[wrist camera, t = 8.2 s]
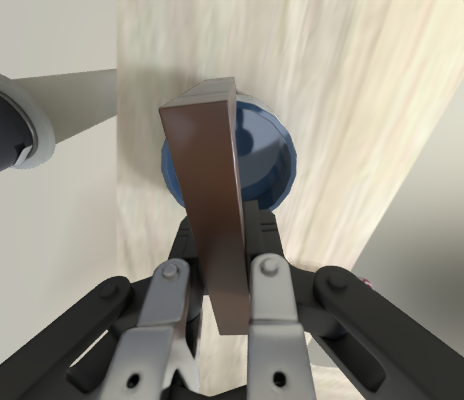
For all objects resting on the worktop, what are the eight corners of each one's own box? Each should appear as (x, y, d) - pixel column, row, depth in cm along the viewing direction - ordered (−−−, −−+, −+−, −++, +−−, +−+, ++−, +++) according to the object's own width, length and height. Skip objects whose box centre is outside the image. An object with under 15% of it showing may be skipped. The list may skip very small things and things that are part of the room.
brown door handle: (269, 265, 19) (285, 373, 12) (216, 268, 19) (204, 374, 13) (264, 72, 11) (298, 92, 5) (175, 83, 11) (94, 115, 5)
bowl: (188, 208, 32) (180, 228, 28) (157, 102, 24) (141, 111, 20) (288, 199, 30) (294, 219, 27) (289, 83, 23) (298, 89, 19)
